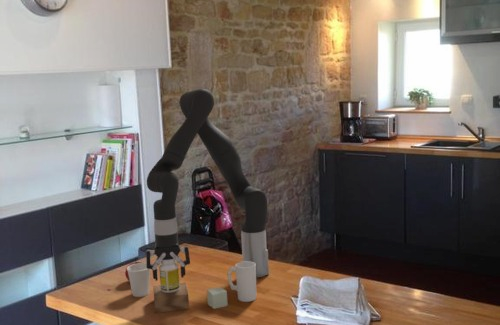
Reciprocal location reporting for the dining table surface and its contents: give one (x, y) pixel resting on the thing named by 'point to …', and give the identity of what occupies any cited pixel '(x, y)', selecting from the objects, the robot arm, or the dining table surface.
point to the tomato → (127, 271)
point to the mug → (244, 280)
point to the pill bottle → (169, 276)
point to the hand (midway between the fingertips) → (169, 278)
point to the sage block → (217, 297)
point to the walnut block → (171, 299)
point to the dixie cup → (139, 279)
